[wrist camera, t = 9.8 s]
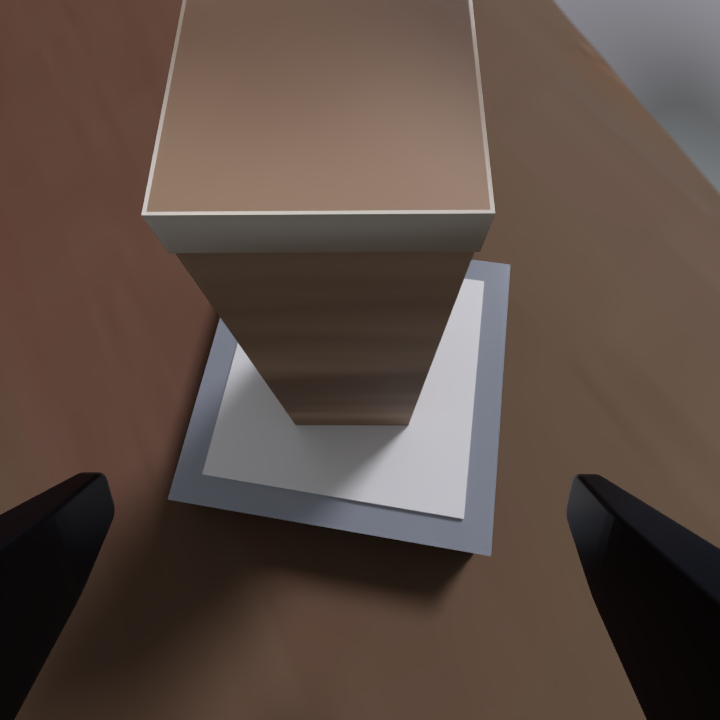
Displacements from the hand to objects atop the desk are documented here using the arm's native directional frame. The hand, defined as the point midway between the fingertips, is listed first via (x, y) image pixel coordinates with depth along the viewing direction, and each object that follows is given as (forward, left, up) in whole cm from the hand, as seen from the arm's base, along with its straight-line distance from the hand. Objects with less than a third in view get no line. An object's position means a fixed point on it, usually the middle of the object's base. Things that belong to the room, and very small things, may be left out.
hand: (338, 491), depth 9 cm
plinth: (+5, +1, -10) cm, 11 cm away
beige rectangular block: (+5, +1, -7) cm, 9 cm away
